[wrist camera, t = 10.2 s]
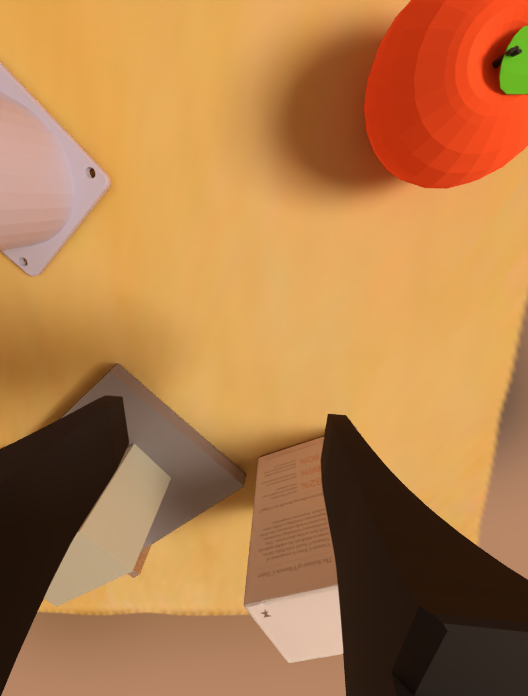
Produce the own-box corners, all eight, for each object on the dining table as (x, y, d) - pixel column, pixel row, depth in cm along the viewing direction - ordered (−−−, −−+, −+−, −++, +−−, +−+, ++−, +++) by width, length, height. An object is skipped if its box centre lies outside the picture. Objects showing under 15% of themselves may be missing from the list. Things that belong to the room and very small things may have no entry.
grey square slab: (27, 449, 27) (-10, 485, 23) (118, 363, 23) (88, 391, 19) (149, 536, 30) (132, 578, 27) (245, 474, 26) (239, 514, 23)
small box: (285, 503, 27) (285, 667, 18) (256, 455, 25) (238, 609, 16) (380, 477, 26) (436, 643, 16) (357, 423, 24) (404, 575, 14)
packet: (73, 481, 26) (4, 571, 20) (134, 443, 24) (79, 530, 18) (110, 511, 27) (56, 606, 21) (171, 477, 25) (132, 571, 19)
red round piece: (551, 36, 15) (764, -96, 8) (483, 204, 17) (601, 207, 11) (373, 3, 14) (445, -156, 8) (335, 178, 17) (364, 165, 11)
